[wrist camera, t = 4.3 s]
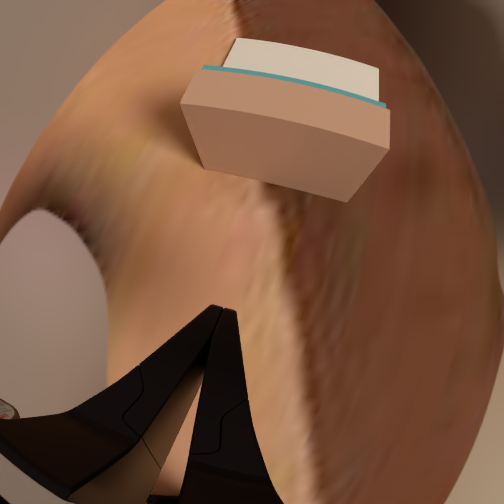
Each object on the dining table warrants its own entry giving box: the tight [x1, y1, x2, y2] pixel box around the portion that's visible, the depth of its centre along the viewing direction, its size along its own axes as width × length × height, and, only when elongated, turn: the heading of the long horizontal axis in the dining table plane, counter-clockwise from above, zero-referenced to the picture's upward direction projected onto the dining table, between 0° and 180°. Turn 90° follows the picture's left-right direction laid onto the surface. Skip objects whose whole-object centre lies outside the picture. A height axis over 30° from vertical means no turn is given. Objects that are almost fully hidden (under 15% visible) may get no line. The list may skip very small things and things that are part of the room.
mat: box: [223, 38, 379, 101], centre depth 25 cm, size 13×16×1 cm
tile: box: [180, 65, 390, 203], centre depth 19 cm, size 4×12×9 cm, turn 76°
